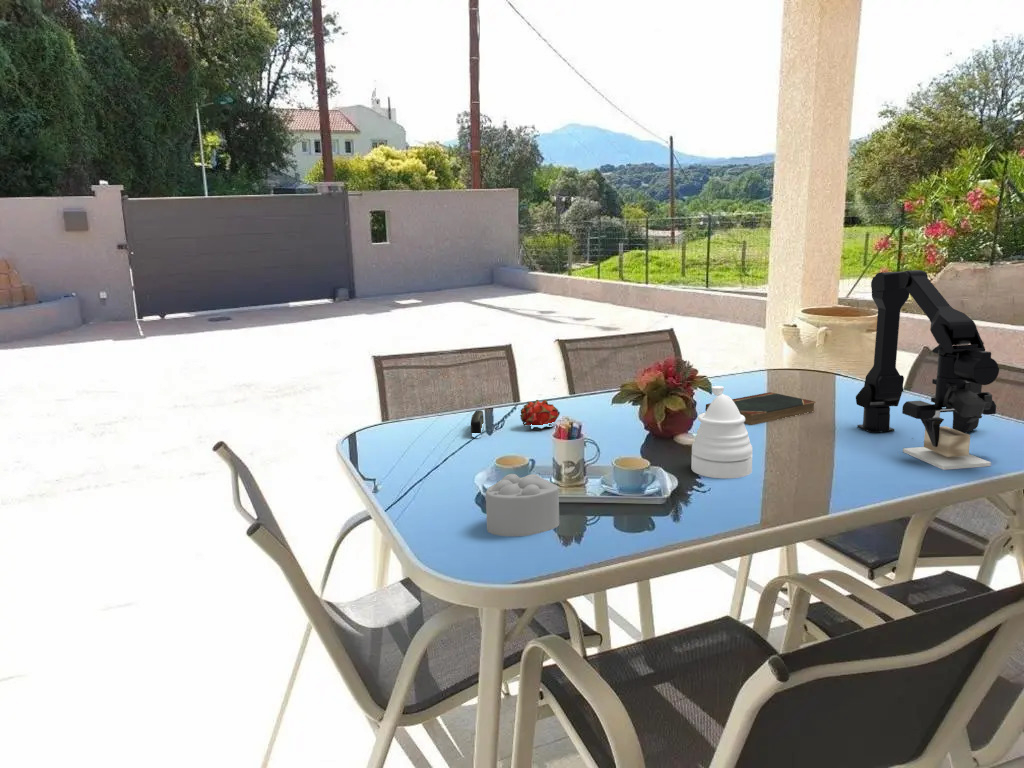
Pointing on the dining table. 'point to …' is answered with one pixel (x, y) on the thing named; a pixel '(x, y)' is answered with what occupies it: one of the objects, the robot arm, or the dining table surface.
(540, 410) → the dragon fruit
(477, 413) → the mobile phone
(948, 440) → the tan rectangular block
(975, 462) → the mat
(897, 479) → the dining table surface
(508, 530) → the lumpy-topped squat cylinder
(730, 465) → the honey pot
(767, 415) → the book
